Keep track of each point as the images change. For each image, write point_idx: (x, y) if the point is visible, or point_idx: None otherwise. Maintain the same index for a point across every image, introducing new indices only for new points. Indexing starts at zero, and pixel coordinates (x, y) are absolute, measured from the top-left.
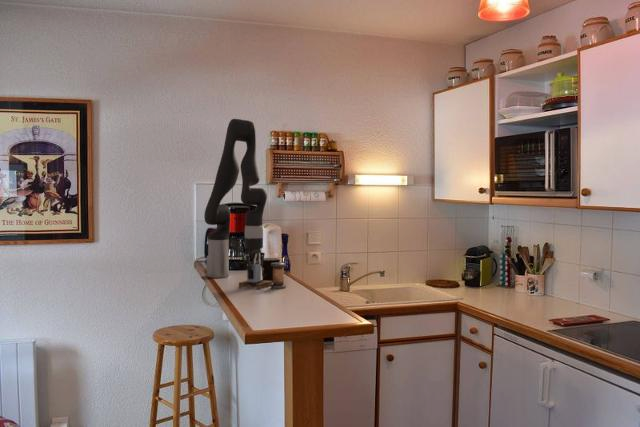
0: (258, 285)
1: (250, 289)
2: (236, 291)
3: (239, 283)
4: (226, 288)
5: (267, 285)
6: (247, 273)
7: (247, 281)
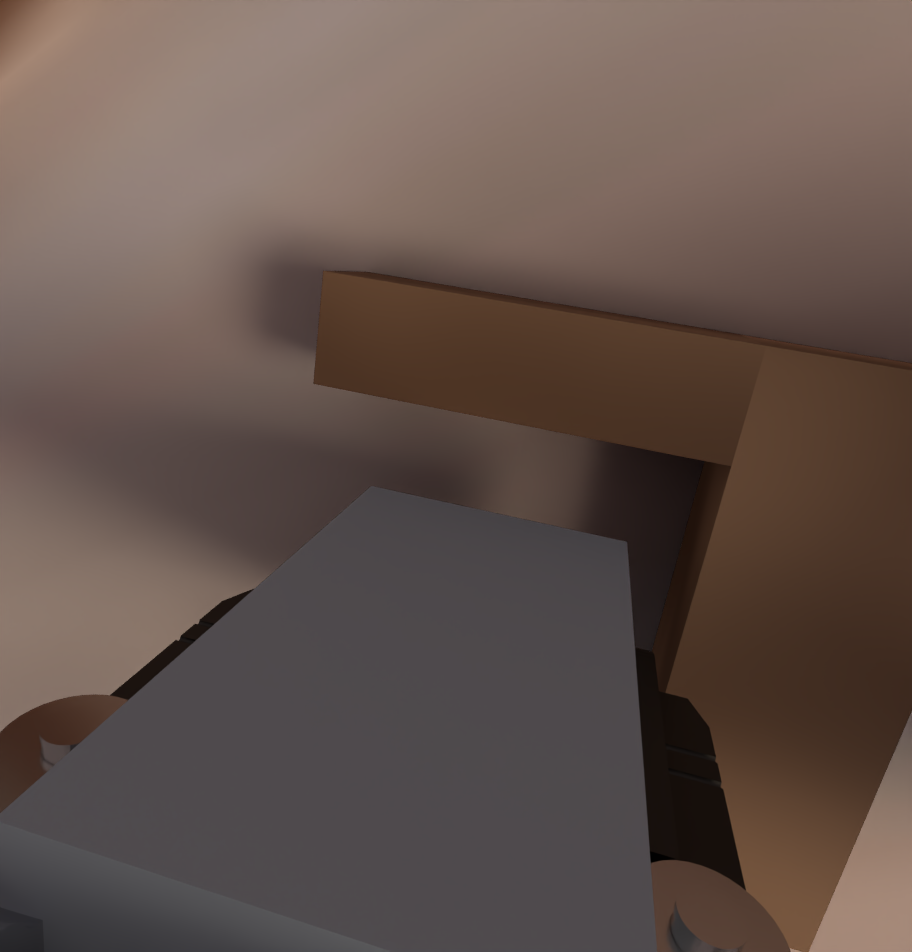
0: None
1: (262, 575)
2: (2, 406)
3: (329, 286)
4: (166, 40)
5: None
6: (272, 586)
7: (369, 497)
